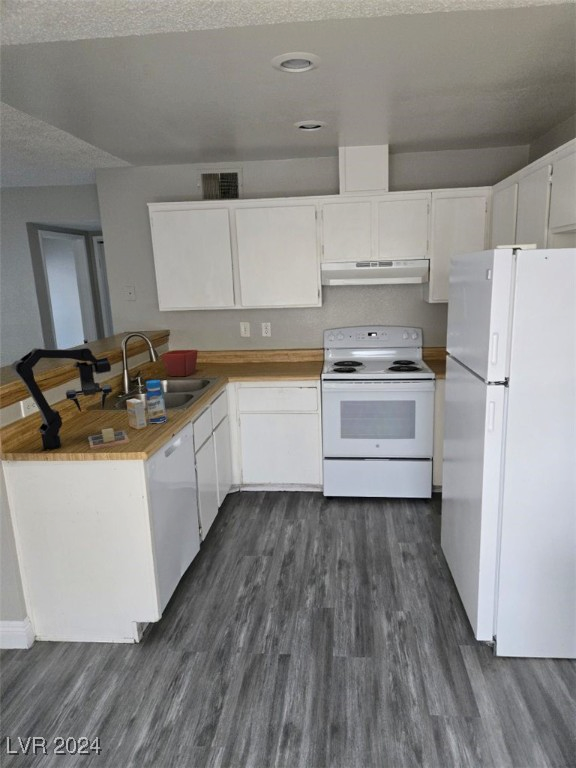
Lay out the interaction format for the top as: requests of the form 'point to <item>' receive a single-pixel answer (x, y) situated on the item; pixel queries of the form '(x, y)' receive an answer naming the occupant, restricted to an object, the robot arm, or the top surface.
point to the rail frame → (108, 443)
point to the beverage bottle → (155, 402)
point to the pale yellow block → (108, 435)
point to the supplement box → (136, 413)
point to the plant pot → (180, 362)
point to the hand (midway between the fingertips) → (91, 410)
